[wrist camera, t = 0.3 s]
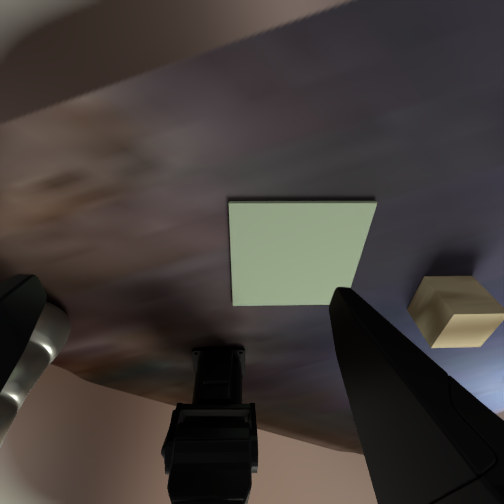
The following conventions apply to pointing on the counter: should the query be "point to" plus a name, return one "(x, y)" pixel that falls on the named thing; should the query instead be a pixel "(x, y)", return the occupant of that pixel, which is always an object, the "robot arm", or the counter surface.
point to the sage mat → (295, 249)
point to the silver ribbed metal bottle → (33, 362)
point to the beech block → (455, 311)
